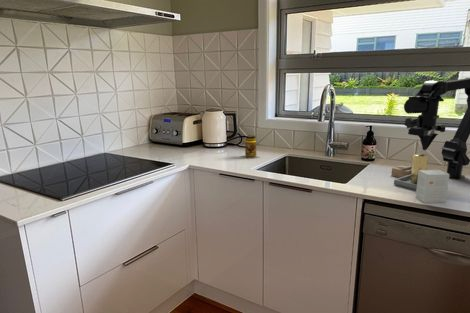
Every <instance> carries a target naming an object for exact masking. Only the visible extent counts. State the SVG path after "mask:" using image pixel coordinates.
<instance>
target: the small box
mask: <svg viewBox="0 0 470 313" xmlns="http://www.w3.org/2000/svg"><path fill="white" fill-rule="evenodd" d="M449 180H450V177H449V174H448V173H446V171H443V170H441V169H427V170H419V173H418V181H417V190H415V198H416V199H417V200H419V201H420V202H422V203H424V204H430V203H432V204H433V203H446V202H447V196H448V194H447V193H448V189H449V188H448V187H449V182H450V181H449Z"/></svg>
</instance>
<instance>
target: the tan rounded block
mask: <svg viewBox="0 0 470 313" xmlns="http://www.w3.org/2000/svg"><path fill="white" fill-rule="evenodd" d="M411 171H412V165H408V166H405V165H398V166H397V165H396V166H394V167H391V173H390V174H391V176H393V177H396V178H401V177H404V176H407V175H410V174H411Z"/></svg>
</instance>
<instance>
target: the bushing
mask: <svg viewBox="0 0 470 313" xmlns="http://www.w3.org/2000/svg"><path fill="white" fill-rule="evenodd" d="M428 160H429V155H428V154H423V153H415V154H414V153H413V155H412V162H411V163H412V171H411V179H410V183H412V184H416V185H417V181H418V173H419V170H428V162H429V161H428Z"/></svg>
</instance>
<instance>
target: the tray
mask: <svg viewBox="0 0 470 313" xmlns="http://www.w3.org/2000/svg"><path fill="white" fill-rule="evenodd" d="M410 179H411V174H410V175H407V176H404V177H401V178H400V177H396V178H395V179H394V181H393V185H394V186H397V187H401V188H405V189H409V190H413V191H416V190H417V185H416V184H412V183H410Z"/></svg>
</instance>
